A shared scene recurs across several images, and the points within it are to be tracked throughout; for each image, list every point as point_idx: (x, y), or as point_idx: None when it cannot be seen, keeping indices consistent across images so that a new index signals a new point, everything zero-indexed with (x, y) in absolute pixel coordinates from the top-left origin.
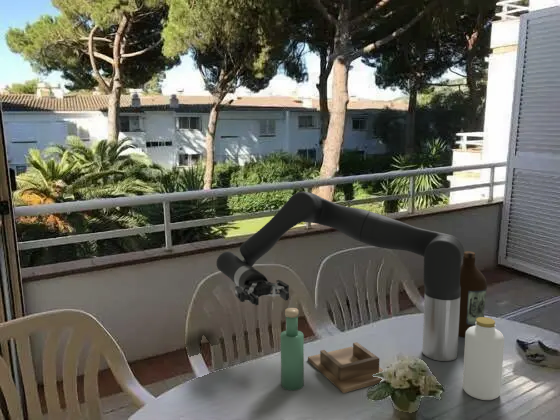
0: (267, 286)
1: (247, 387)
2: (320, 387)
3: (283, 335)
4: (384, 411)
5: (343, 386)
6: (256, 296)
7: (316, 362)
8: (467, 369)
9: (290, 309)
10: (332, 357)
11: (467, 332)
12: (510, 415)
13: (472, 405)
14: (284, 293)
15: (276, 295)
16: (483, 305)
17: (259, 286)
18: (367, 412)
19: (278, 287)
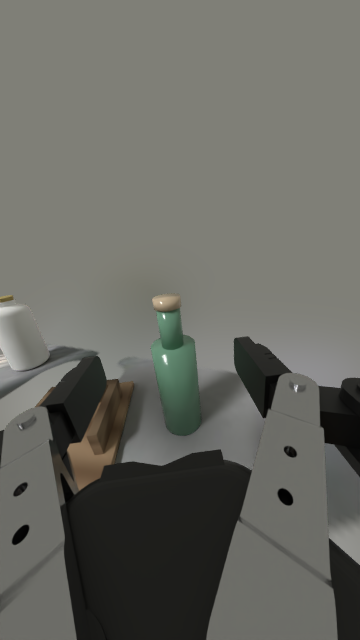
0: (92, 503)
1: (261, 430)
2: (150, 401)
3: (189, 344)
4: (124, 359)
5: (128, 385)
6: (242, 342)
7: (108, 458)
8: (37, 340)
9: (166, 298)
10: (101, 405)
11: (14, 311)
12: (58, 345)
13: (61, 354)
14: (93, 368)
15: (76, 483)
16: None
17: (186, 554)
18: (137, 360)
19: (48, 423)
